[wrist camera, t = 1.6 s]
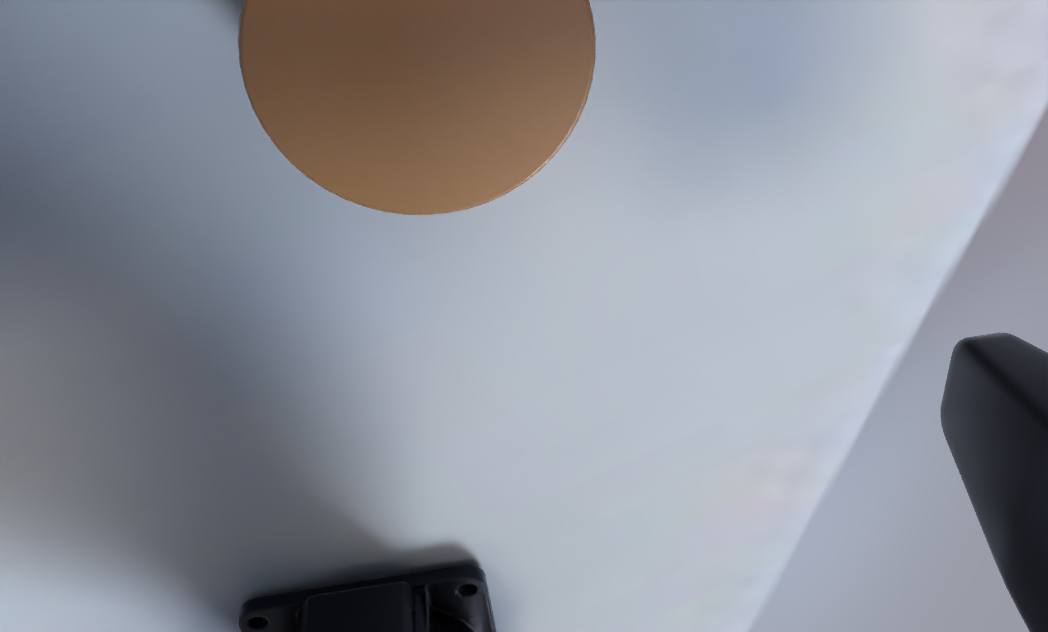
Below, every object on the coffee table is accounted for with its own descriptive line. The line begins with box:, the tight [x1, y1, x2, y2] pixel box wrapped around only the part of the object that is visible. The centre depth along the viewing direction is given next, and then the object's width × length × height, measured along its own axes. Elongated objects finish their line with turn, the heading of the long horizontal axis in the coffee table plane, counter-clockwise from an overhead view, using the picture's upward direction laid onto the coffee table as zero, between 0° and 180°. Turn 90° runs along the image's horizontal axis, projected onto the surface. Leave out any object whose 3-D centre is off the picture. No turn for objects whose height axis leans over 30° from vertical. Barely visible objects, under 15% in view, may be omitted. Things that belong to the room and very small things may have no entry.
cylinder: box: [238, 0, 595, 215], centre depth 16 cm, size 6×6×2 cm
